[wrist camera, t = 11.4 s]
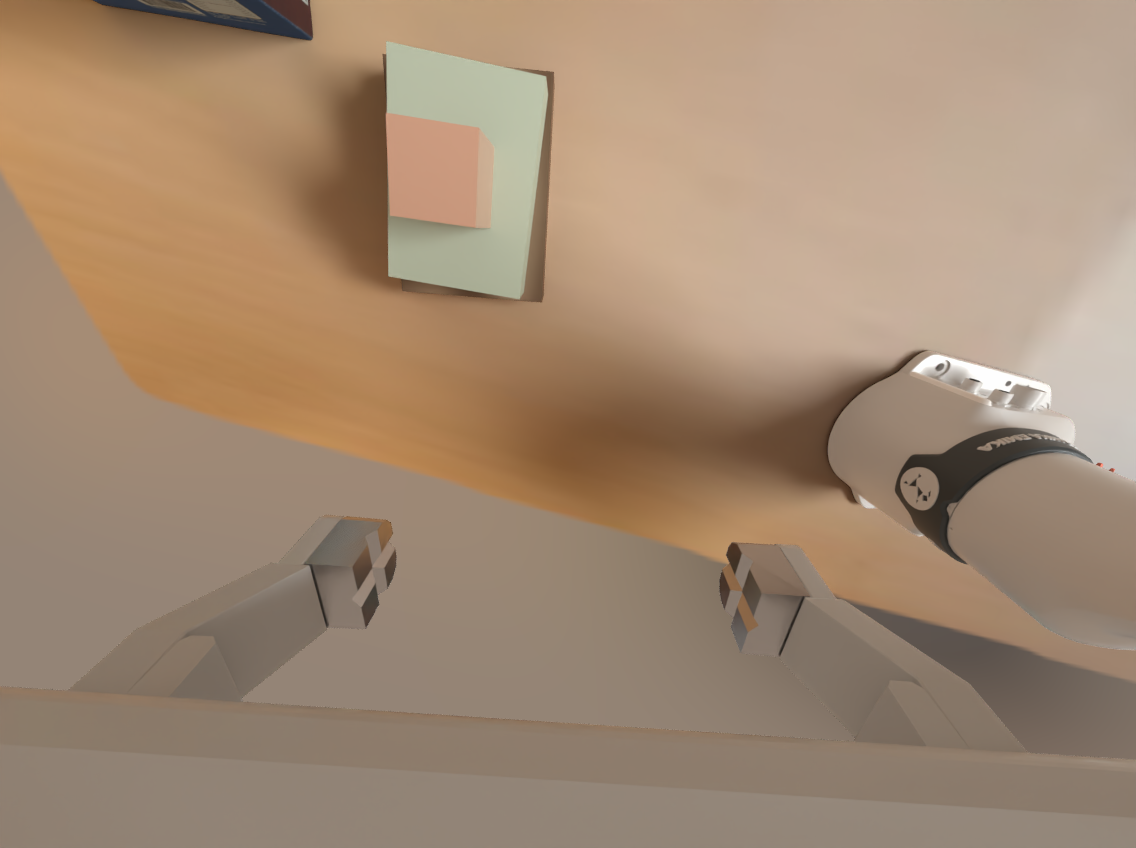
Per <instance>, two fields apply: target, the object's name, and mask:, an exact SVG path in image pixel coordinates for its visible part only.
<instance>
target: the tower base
mask: <svg viewBox="0 0 1136 848" xmlns="http://www.w3.org/2000/svg"><path fill="white" fill-rule="evenodd" d="M383 65H384V77H385V88H386V100H387V59H386V54H383ZM506 68H510V67H506ZM510 69H515V70H520V71H524V72H529V73H533V74H538V75H542V76H546V80H547V89H548V100H547V108H546V116H545V124H544V132H543V140H542V148H541V157H540V165H539V173H538V181H537V189H536V197H535V205H534V214H533V222H532V230H531V238H530V246H529V254H528V262H527V270H526V279H525V287H524V293H523V294H522V296H521V298H520V299H515V298H509V297H503V296H498V295H492V294H486V293H480V292H475V291H469V290H463V289H457V288H452V287H446V286H440V285H435V284H429V283H423V282H417V281H412V280H406V279H402V291H406V292H418V293H431V294H443V295H456V296H468V297H481V298H493V299H506V300H518V301H531V302H542V300H543V295H544V276H545V257H546V238H547V219H548V200H549V181H550V163H551V144H552V125H553V106H554V72H548V71H539V70H529V69H520V68H510Z"/></svg>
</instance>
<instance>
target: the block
mask: <svg viewBox="0 0 1136 848" xmlns="http://www.w3.org/2000/svg"><path fill="white" fill-rule="evenodd" d="M386 135H387V158H388V182H389V205H390V216H397V217H404V218H411V219H417V220H424V221H431V222H438V223H445V224H452V225H459V226H466V227H473V228H491V209H492V189H493V169H494V148H495V147H494V146H493V145H492V143H491V142H490V141H489V140H488V138H487V137H486V136H485V134H484V133H483V132H482V131H481V129H480V128H478V127H472V126H466V125H460V124H453V123H447V122H441V121H435V120H429V119H422V118H416V117H410V116H404V115H398V114H391V113H386Z"/></svg>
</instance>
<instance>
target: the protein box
mask: <svg viewBox="0 0 1136 848" xmlns="http://www.w3.org/2000/svg"><path fill="white" fill-rule="evenodd" d="M93 1H95V2H97V3H100V4H102V5H108V6H114V7H120V8H126V9H133V10H139V11H145V12H151V13H157V14H162V15H168V16H174V17H180V18H186V19H192V20H197V21H203V22H209V23H214V24H220V25H225V26H231V27H236V28H241V29H247V30H252V31H258V32H264V33H270V34H276V35H282V36H287V37H293V38H300V39H306V40H312V38H313V31H312V21H311V11H310V0H93Z"/></svg>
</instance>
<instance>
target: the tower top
mask: <svg viewBox="0 0 1136 848" xmlns="http://www.w3.org/2000/svg"><path fill="white" fill-rule="evenodd" d="M386 59H387V113H391V114H398V115H404V116H410V117H416V118H422V119H429V120H435V121H441V122H447V123H453V124H460V125H466V126H472V127H478V128H480V129H481V131H482V132H483V133H484V134H485V136H486V137H487V138H488V140H489V141H490V142H491V143H492V145H493V146H494V147H495V148H494V169H493V189H492V209H491V228H473V227H466V226H459V225H452V224H445V223H438V222H431V221H424V220H417V219H411V218H404V217H397V216H390V205H389V182H388V276H389V277H394V278H400V279H406V280H412V281H417V282H423V283H429V284H435V285H440V286H446V287H452V288H457V289H463V290H469V291H475V292H480V293H486V294H492V295H498V296H503V297H509V298H515V299H520V298H521V296H522V294H523V293H524V287H525V279H526V270H527V262H528V254H529V246H530V238H531V230H532V222H533V214H534V205H535V197H536V189H537V181H538V173H539V165H540V157H541V148H542V140H543V132H544V124H545V116H546V108H547V100H548V89H547V80H546V76H542V75H538V74H533V73H529V72H524V71H520V70H515V69H510V68H506V67H501V66H497V65H492V64H488V63H483V62H479V61H474V60H469V59H465V58H460V57H456V56H451V55H447V54H442V53H438V52H433V51H429V50H424V49H419V48H415V47H410V46H406V45H401V44H397V43H392V42H388V41H386ZM387 180H388V158H387Z"/></svg>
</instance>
